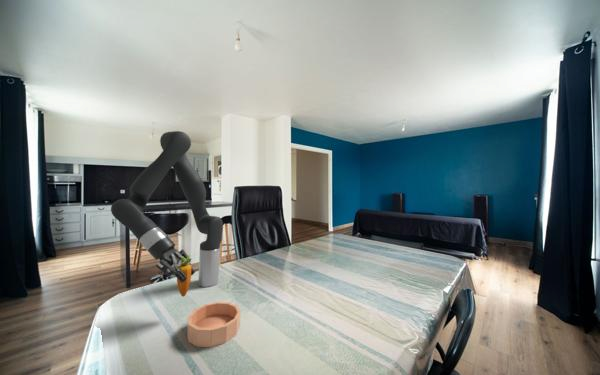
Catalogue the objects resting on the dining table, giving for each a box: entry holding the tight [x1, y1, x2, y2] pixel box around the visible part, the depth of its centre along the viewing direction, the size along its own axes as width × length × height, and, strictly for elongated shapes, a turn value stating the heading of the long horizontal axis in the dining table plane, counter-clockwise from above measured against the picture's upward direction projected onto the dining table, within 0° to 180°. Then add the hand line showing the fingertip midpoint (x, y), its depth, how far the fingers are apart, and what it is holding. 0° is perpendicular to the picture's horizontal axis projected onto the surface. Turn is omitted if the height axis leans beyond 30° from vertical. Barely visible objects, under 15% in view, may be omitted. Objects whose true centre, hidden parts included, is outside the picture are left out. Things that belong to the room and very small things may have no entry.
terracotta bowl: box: [186, 301, 242, 348], centre depth 72 cm, size 16×16×5 cm
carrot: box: [176, 254, 192, 298], centre depth 79 cm, size 5×5×15 cm
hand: (189, 277), depth 79 cm, fingers closed on carrot, 5 cm apart
